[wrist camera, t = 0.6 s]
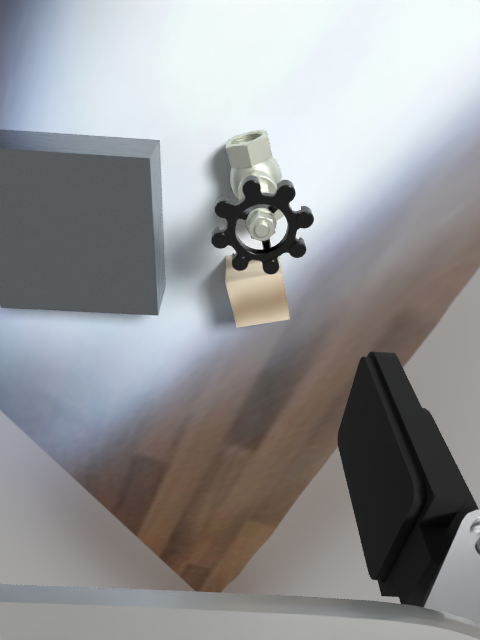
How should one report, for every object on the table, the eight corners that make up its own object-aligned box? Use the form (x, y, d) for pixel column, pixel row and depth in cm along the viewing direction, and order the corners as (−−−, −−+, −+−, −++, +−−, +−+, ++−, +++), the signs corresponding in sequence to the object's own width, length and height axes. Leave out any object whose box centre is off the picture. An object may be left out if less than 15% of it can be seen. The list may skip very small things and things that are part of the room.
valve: (228, 215, 40) (225, 285, 30) (206, 142, 36) (195, 194, 26) (300, 197, 39) (321, 263, 29) (285, 120, 35) (304, 166, 25)
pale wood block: (226, 255, 42) (225, 282, 38) (277, 246, 42) (282, 272, 38) (236, 298, 45) (236, 327, 41) (284, 290, 45) (289, 319, 41)
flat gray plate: (-16, 128, 35) (-49, 145, 31) (159, 140, 36) (149, 158, 32) (23, 278, 43) (1, 307, 39) (165, 286, 44) (158, 315, 40)
